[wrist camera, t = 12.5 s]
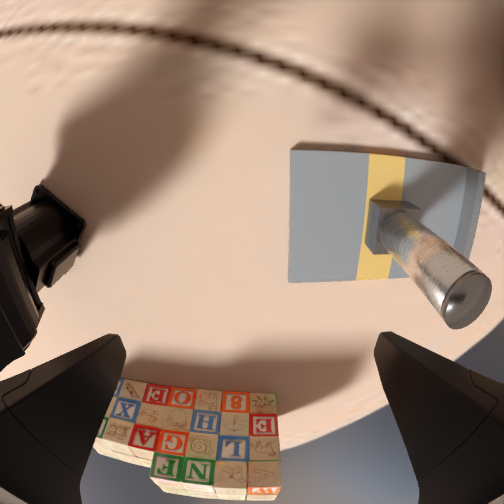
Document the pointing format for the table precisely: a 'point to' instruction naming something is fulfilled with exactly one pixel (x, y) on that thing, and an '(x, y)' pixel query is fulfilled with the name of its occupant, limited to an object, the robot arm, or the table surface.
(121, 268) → the table surface
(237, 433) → the stack of blocks
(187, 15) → the table surface
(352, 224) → the plate
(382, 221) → the lever handle
